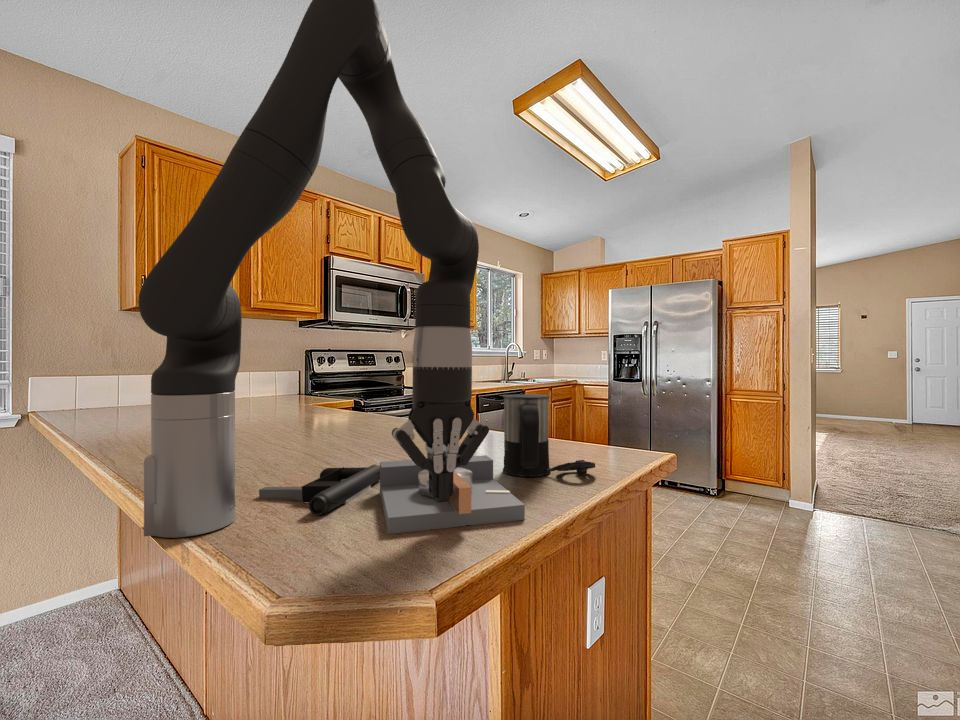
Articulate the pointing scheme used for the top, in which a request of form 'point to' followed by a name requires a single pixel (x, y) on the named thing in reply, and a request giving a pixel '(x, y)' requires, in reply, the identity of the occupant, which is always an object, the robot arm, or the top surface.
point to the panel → (424, 513)
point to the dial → (460, 488)
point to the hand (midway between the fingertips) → (441, 500)
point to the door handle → (328, 488)
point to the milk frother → (530, 437)
